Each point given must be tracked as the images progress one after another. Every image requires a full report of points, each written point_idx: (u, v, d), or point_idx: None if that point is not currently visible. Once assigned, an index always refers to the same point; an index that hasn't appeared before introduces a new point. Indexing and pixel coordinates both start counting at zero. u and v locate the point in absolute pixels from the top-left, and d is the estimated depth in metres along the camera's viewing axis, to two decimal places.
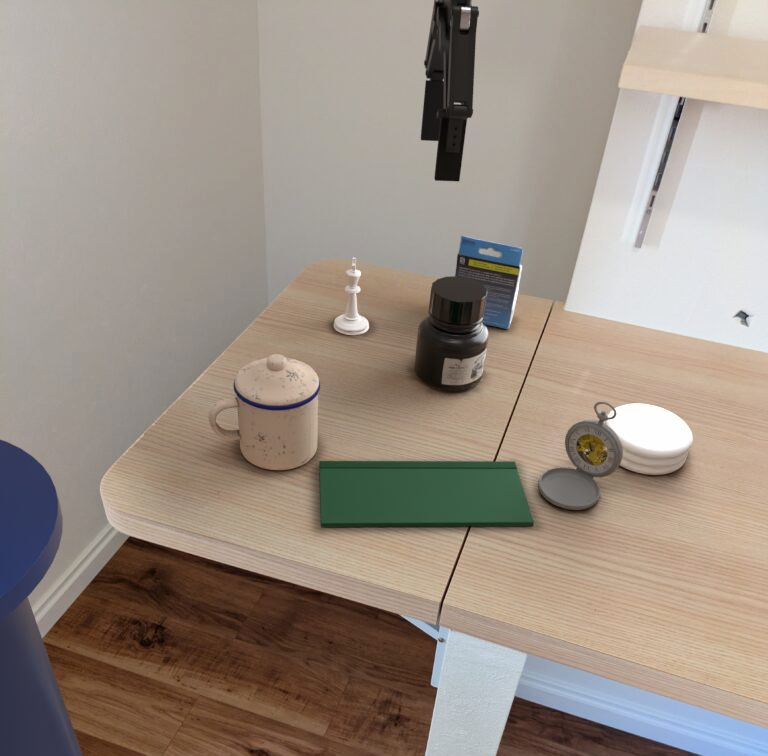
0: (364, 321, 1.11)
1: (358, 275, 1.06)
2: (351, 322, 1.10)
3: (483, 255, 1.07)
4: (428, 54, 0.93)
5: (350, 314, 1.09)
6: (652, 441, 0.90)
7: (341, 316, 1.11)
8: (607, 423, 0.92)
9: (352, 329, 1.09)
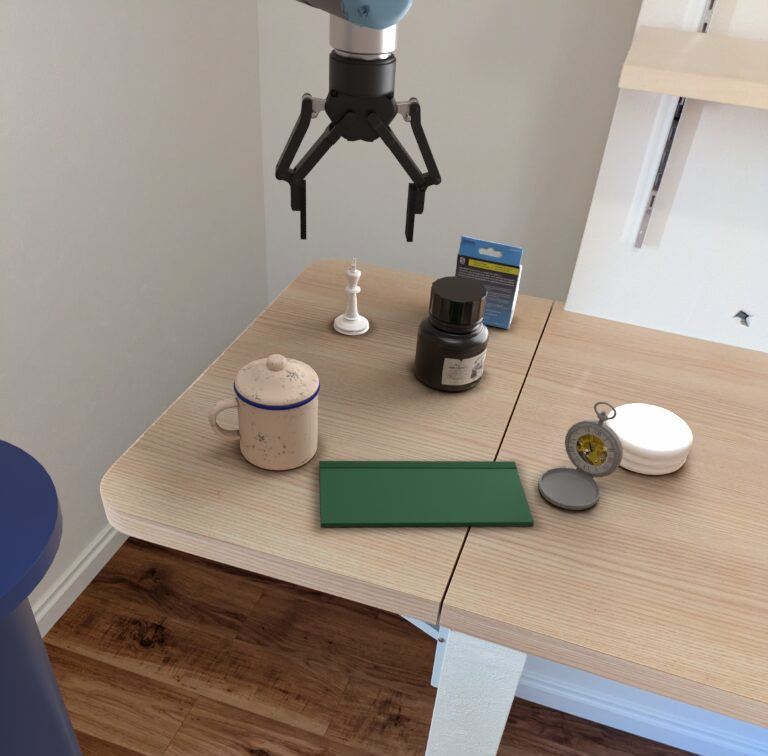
0: (364, 321, 1.11)
1: (358, 275, 1.06)
2: (351, 322, 1.10)
3: (483, 255, 1.07)
4: (289, 165, 0.95)
5: (350, 314, 1.09)
6: (652, 441, 0.90)
7: (341, 316, 1.11)
8: (607, 423, 0.92)
9: (352, 329, 1.09)
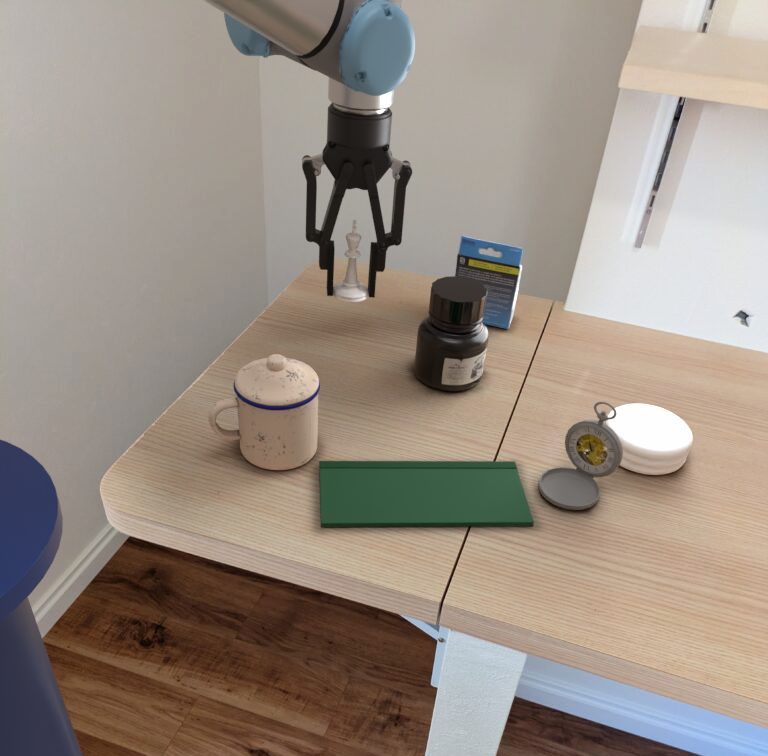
0: (363, 288, 1.07)
1: (358, 239, 1.02)
2: (351, 288, 1.06)
3: (483, 255, 1.07)
4: (315, 225, 1.00)
5: (349, 280, 1.06)
6: (652, 441, 0.90)
7: (340, 283, 1.08)
8: (607, 423, 0.92)
9: (351, 295, 1.06)
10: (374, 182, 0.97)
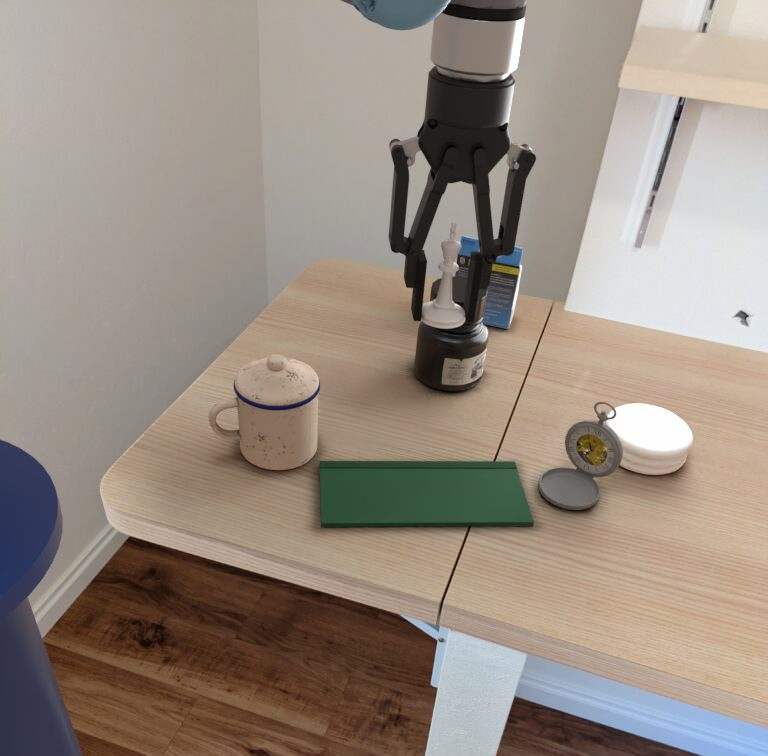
0: (460, 310, 0.83)
1: (458, 247, 0.78)
2: (444, 311, 0.82)
3: None
4: (403, 231, 0.76)
5: (443, 301, 0.82)
6: (652, 441, 0.90)
7: (429, 303, 0.84)
8: (607, 423, 0.92)
9: (445, 320, 0.82)
10: (485, 173, 0.73)
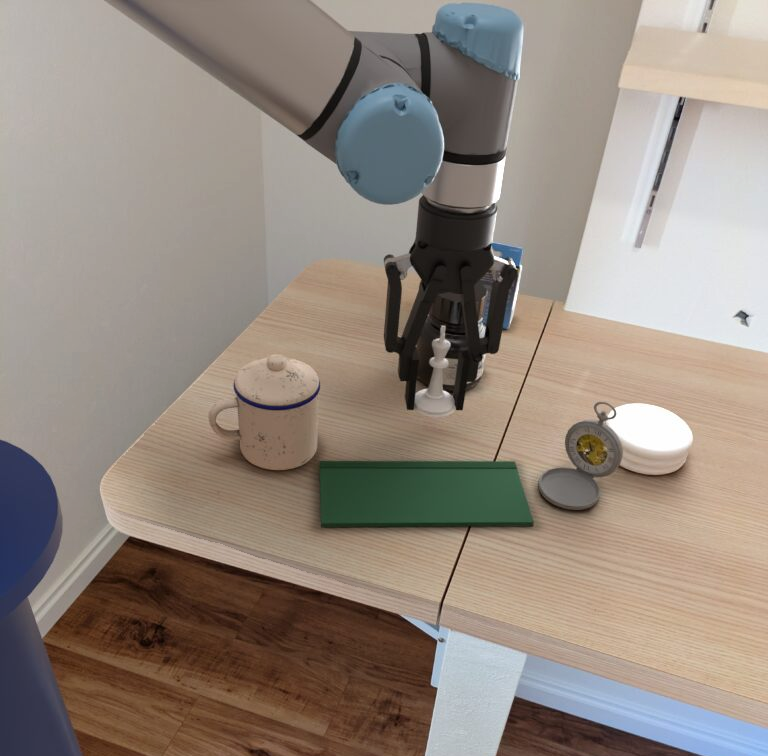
0: (450, 400, 0.90)
1: (447, 347, 0.85)
2: (435, 401, 0.89)
3: None
4: (397, 334, 0.83)
5: (434, 392, 0.89)
6: (652, 441, 0.90)
7: (421, 393, 0.91)
8: (607, 423, 0.92)
9: (436, 410, 0.89)
10: (471, 286, 0.80)
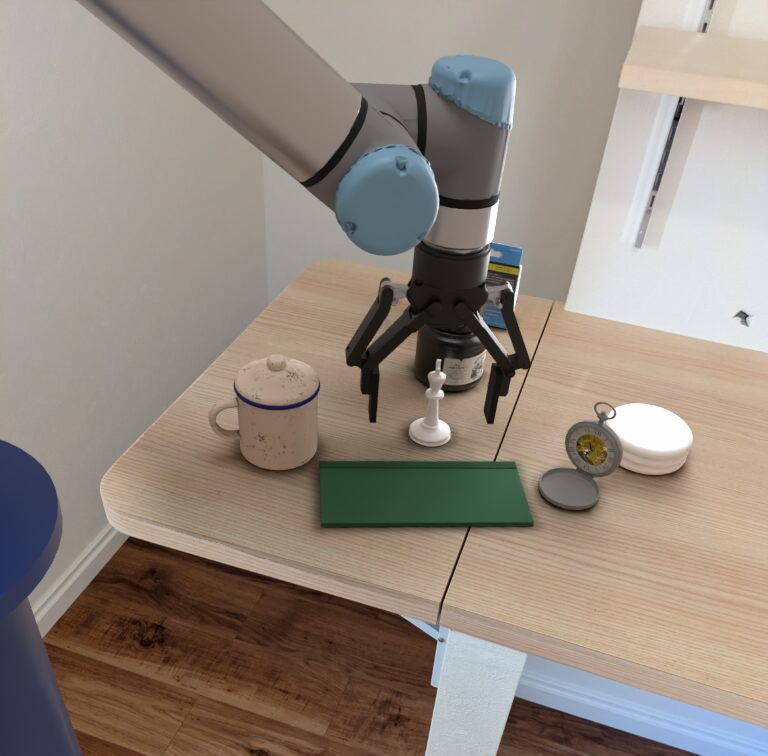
0: (445, 429, 0.93)
1: (443, 379, 0.88)
2: (431, 431, 0.92)
3: None
4: (363, 352, 0.84)
5: (430, 422, 0.92)
6: (652, 441, 0.90)
7: (418, 422, 0.93)
8: (607, 423, 0.92)
9: (432, 439, 0.91)
10: (466, 321, 0.82)
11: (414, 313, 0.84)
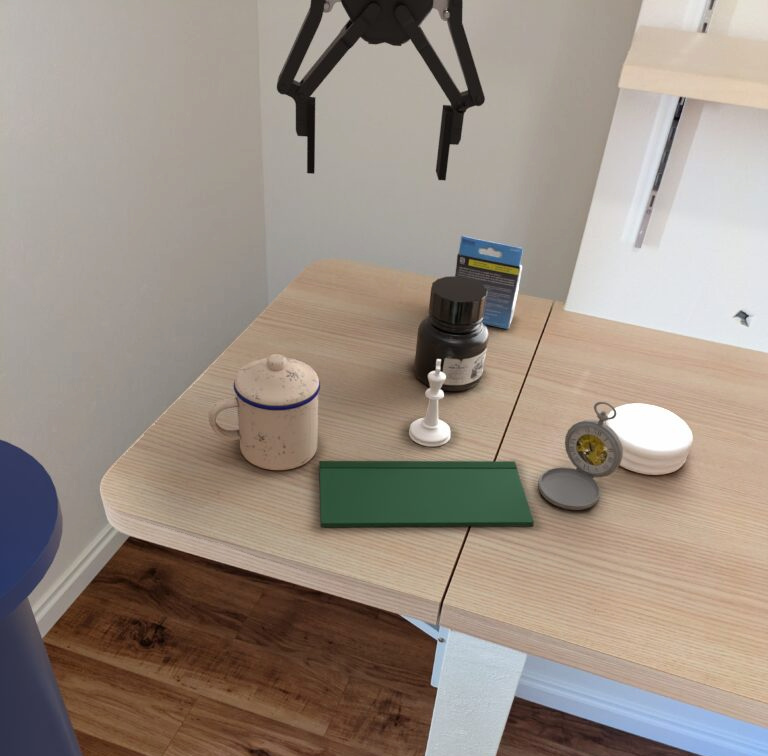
0: (445, 429, 0.93)
1: (443, 379, 0.88)
2: (431, 431, 0.92)
3: (483, 255, 1.07)
4: (295, 75, 0.76)
5: (430, 422, 0.92)
6: (652, 441, 0.90)
7: (418, 422, 0.93)
8: (607, 423, 0.92)
9: (432, 439, 0.91)
10: (408, 33, 0.73)
11: None
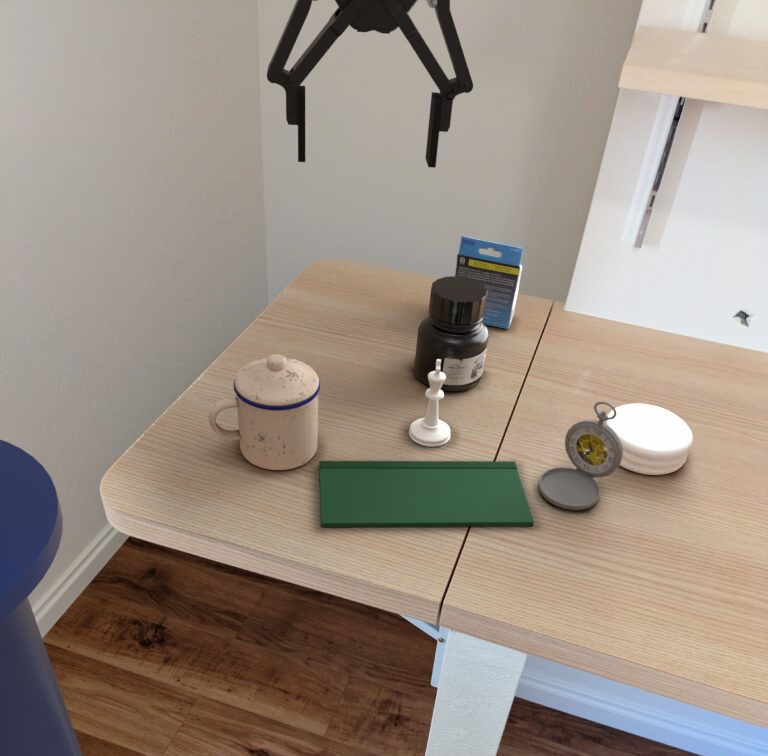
0: (445, 429, 0.93)
1: (443, 379, 0.88)
2: (431, 431, 0.92)
3: (483, 255, 1.07)
4: (285, 63, 0.76)
5: (430, 422, 0.92)
6: (652, 441, 0.90)
7: (418, 422, 0.93)
8: (607, 423, 0.92)
9: (432, 439, 0.91)
10: (397, 20, 0.74)
11: None
